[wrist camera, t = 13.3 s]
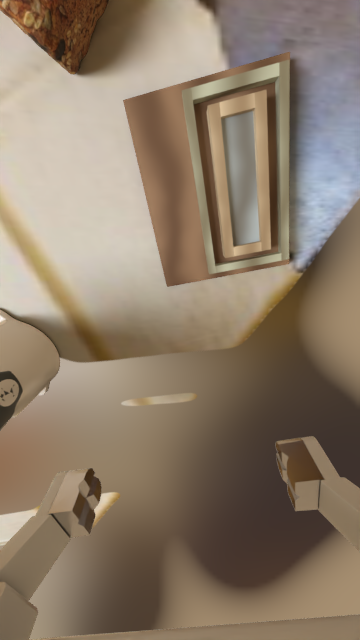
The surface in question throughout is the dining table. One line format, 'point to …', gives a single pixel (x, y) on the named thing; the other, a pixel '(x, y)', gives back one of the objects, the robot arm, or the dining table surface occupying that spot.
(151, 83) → the dining table surface
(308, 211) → the dining table surface
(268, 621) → the robot arm
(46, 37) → the bread
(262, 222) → the frame
